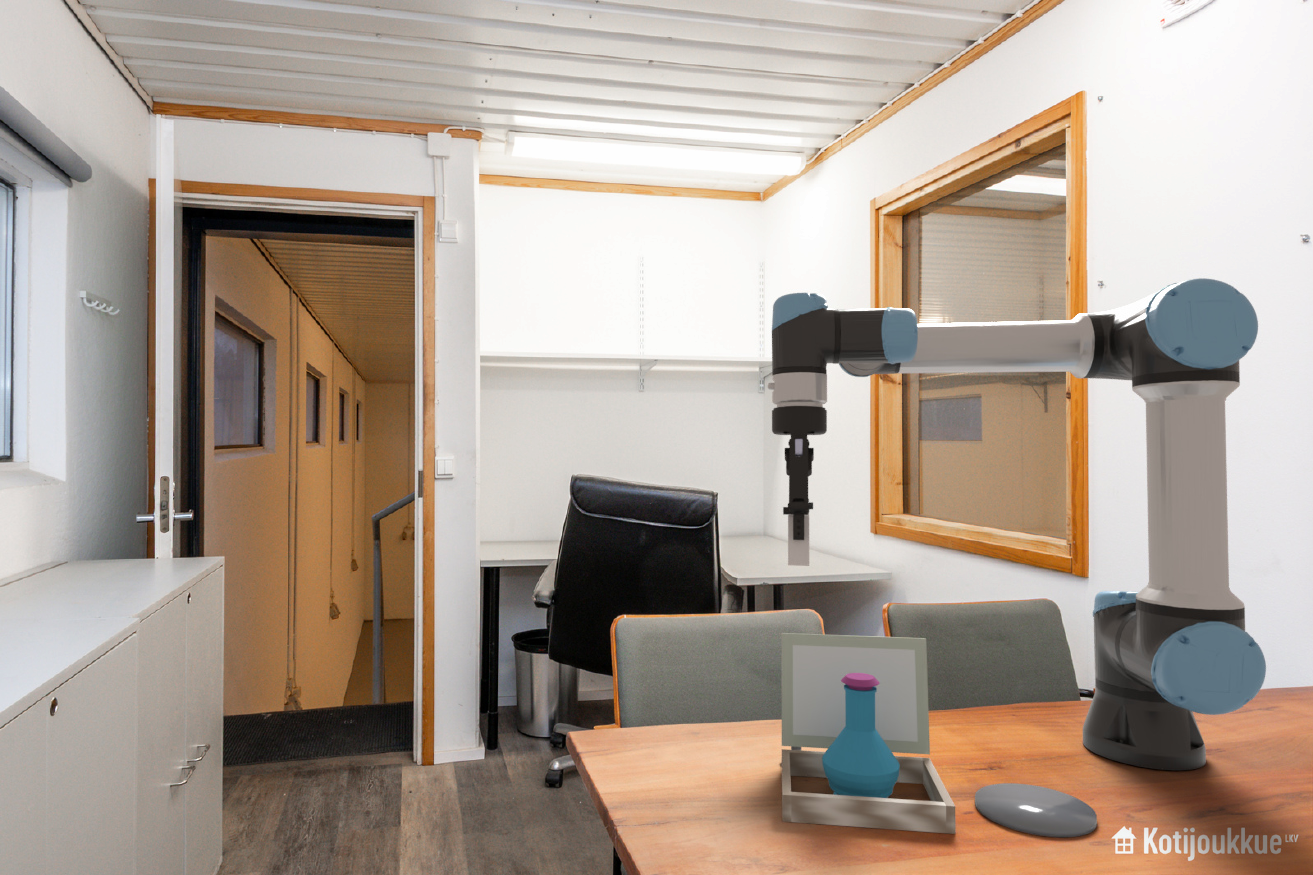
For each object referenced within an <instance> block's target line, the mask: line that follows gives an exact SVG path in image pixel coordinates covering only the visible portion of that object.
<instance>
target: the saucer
mask: <svg viewBox="0 0 1313 875" xmlns="http://www.w3.org/2000/svg"><path fill="white" fill-rule="evenodd" d="M974 805H975V808H976V809H977V811H978V813H980V814H982V816H984V817H986V818H987V819H989V820H990V821H992V822H994V823H996V824H998V825H1000V826H1002V827H1005V828H1008V829H1011V830H1015V831H1018V832H1020V833H1024V834H1025V833H1026V834H1030V835H1036V836H1042V837H1050V838H1074V837H1075V838H1076V837H1081V836H1086V835H1088V834H1090V833H1092V832H1093V831H1095V829H1097V826H1098V821H1097V820H1098V819H1097V817H1098V816H1097V813H1096V811H1095V809H1093V807H1092V806H1090V805H1089V804H1087V803H1086V802H1085V801H1083V800H1081V799H1079V798H1077V797H1076V796H1073V795H1071V794H1068V793H1065V792H1062V791H1059V790H1056V789H1052V788H1049V787H1044V786H1038V785H1033V784H1025V783H1017V782H1016V783H1012V782H1011V783H1009V782H1007V783H1006V782H1004V783H1002V782H1001V783H994V784H989V785H986V786H983V787H981V788H979V789H978V790H977V791H976V792H975V795H974Z"/></svg>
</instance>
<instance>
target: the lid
mask: <svg viewBox="0 0 1313 875" xmlns="http://www.w3.org/2000/svg"><path fill="white" fill-rule="evenodd" d="M927 653H928V652H927V638H926V637H925V638H924V637H901V636H900V637H896V636H872V635H871V636H870V635H843V634H842V635H841V634H840V635H839V634H820V633H819V634H817V633H814V634H813V633H793V632H792V633H790V632H789V633H787V632H781V746H782V747H791V746H794V747H801V748H811V749H812V748H813V749H828V748H829V747H830V745H831V744H832V743H833V742H834V741H835V739H836V738H837V737H838V735H839V734H840V733H841V731H842V730H843V729H844V727H845V726H846V710H845V690H844V685H845V683H843V682H841V679H842V678H843V677H844V676H845V675H846V674H849V673H865V674H870V675H873V676H874V677H875V678H876V679H877V680H878V681H879V682H880V684H879V685H877V686H875V687H876V688H877V691H876V692H875V729H876V730H877V732H878V733H879V735H880V736H881V738H882V739H883V740H884V742H885V743H886V745H887V746H888V748H889V749H890V750H891V752H892V753H899V754H912V755H913V754H918V755H931V747H930V741H931V740H930V717H929V713H930V711H929V688H928V687H929V686H928V683H929V682H928V679H929V678H928V657H927V655H928V654H927Z"/></svg>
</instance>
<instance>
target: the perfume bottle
mask: <svg viewBox="0 0 1313 875" xmlns="http://www.w3.org/2000/svg"><path fill="white" fill-rule="evenodd" d="M841 682H843V683H845V685H844V690H845V710H846V726H845V727H844V729H843V730H842V731H841V733H840V734H839V735H838V737H837V738H836V739H835V741H834V742H833V743H832V744H831V745H830V747H829V748H826V751H824V752H825V753H824V755H823V757H822V762H823V768H824V771H825V775H826V777H827V778H826V779H827V780H828V786H829V788H830V789H831V791H833V794H832V795H846V796H861V797H876V798H889V797H890V796H891V795H893V793H894V786H895V785H896V783H898V782H897V779H898V776H899V768H900V764H899V762H898V761H897V759H896V758H895V756H896V755H894V752H891V750H890V749H889V748H888V746H887V745H886V743H885V742H884V740H883V739H882V738H881V736H880V735H879V733H878V732H877V730H876V729H875V692H876V691H877V688H876V687H875V686H877V685H879V684H880V682H879V681H878V680H877V679H876V678H875V677H874V676H873V675H870V674H865V673H849V674H846V675H845V676H844V677H843V678H842V679H841Z"/></svg>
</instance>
